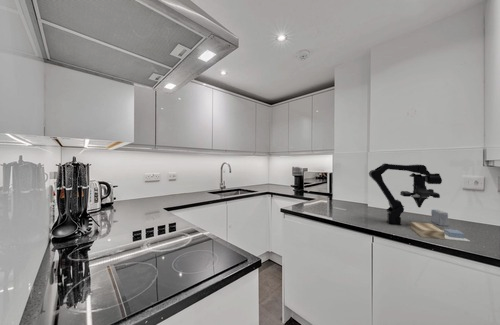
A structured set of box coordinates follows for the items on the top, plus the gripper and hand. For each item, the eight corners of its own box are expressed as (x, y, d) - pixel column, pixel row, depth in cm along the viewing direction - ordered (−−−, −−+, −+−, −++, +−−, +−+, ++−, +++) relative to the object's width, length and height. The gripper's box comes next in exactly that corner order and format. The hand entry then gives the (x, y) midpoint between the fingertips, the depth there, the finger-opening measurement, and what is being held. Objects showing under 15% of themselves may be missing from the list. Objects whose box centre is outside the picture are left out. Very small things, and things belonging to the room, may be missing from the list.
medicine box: (448, 226, 122) (448, 212, 122) (440, 225, 123) (440, 212, 123) (438, 222, 130) (438, 209, 130) (431, 221, 131) (431, 209, 131)
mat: (445, 239, 103) (445, 238, 103) (431, 230, 116) (431, 229, 116) (470, 241, 100) (470, 241, 100) (453, 232, 113) (453, 231, 113)
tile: (464, 234, 103) (464, 238, 103) (457, 230, 108) (457, 234, 108) (449, 232, 105) (449, 236, 105) (443, 228, 111) (443, 232, 111)
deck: (421, 236, 107) (421, 229, 107) (410, 228, 120) (410, 221, 120) (444, 239, 103) (444, 231, 103) (430, 229, 116) (430, 223, 116)
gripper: (406, 184, 119) (406, 209, 120) (445, 185, 113) (445, 211, 113) (400, 182, 130) (400, 205, 130) (434, 183, 123) (434, 207, 123)
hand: (419, 207), depth 124 cm, fingers closed
